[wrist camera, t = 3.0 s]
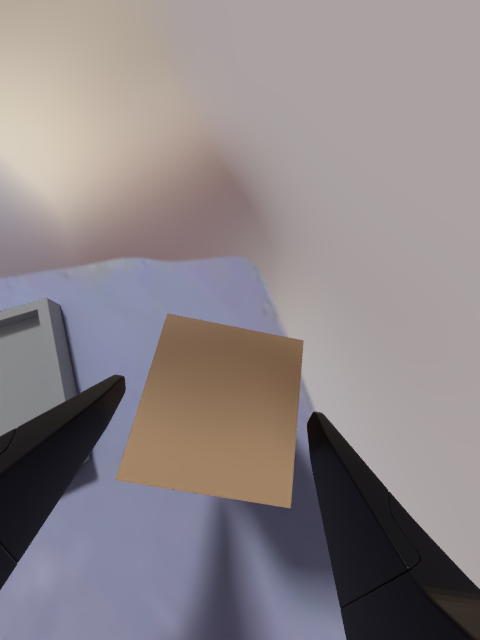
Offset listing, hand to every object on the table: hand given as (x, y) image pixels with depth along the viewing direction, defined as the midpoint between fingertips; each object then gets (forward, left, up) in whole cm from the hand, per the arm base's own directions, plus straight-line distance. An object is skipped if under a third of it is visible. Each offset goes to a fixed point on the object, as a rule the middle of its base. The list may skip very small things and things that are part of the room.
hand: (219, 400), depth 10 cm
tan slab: (0, 0, -9) cm, 9 cm away
